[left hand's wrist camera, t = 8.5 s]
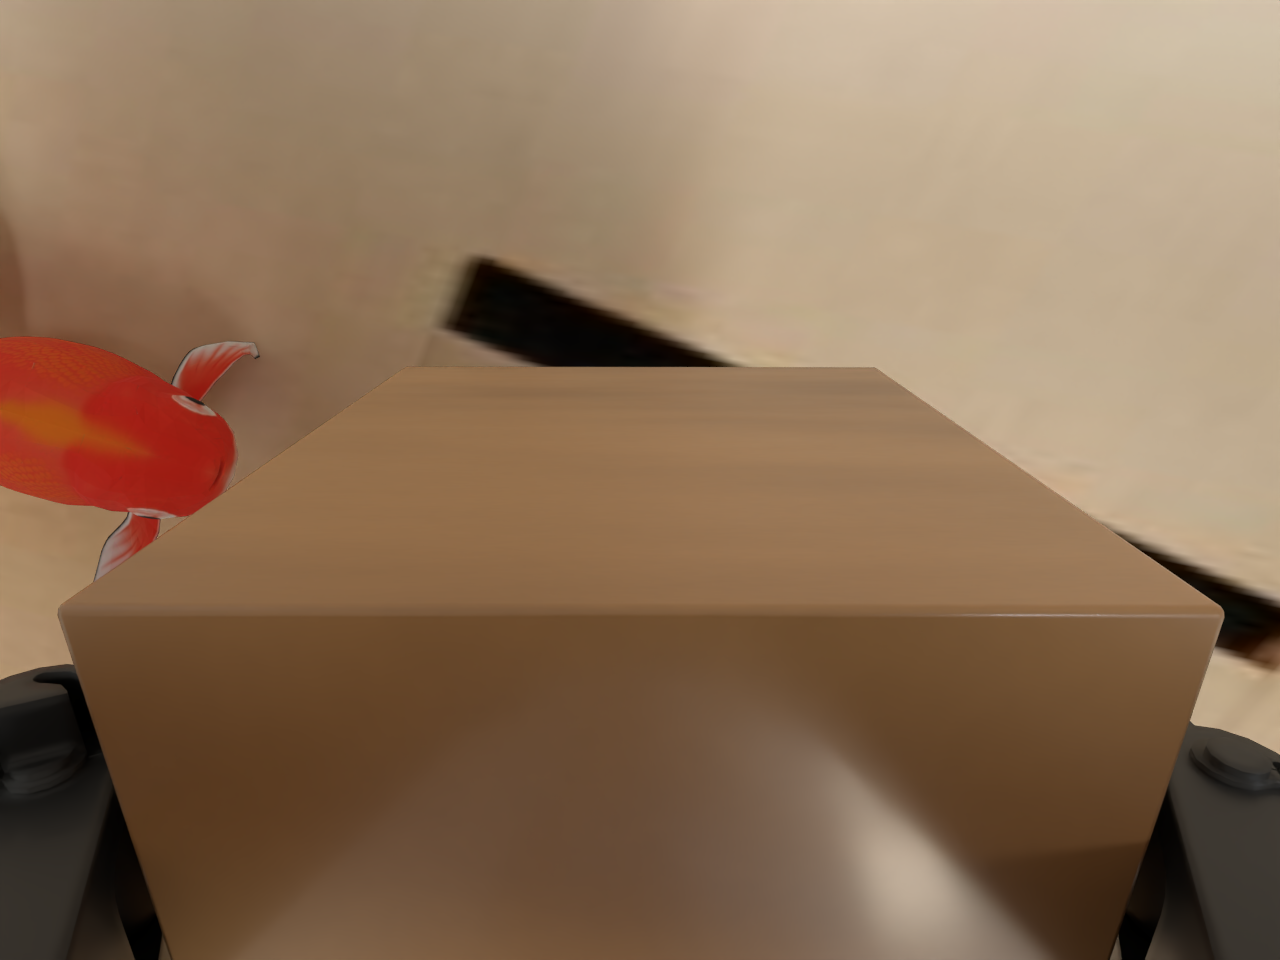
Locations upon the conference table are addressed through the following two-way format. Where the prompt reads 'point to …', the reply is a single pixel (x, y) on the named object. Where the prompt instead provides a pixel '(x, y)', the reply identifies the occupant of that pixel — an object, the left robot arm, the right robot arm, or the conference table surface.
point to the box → (640, 682)
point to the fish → (114, 434)
